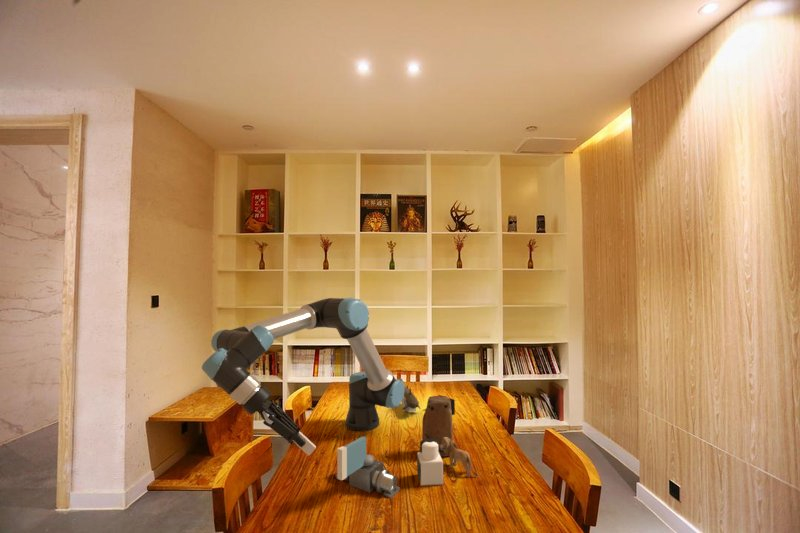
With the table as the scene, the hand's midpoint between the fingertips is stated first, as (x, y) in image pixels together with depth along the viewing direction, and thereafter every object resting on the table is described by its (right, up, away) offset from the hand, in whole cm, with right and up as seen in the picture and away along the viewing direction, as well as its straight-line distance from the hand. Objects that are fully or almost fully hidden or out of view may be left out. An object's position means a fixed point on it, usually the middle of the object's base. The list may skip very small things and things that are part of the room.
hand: (312, 451), depth 104 cm
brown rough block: (+39, -16, +30) cm, 52 cm away
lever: (+12, -9, +6) cm, 16 cm away
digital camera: (+47, -19, +75) cm, 91 cm away
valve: (+15, -15, +10) cm, 23 cm away
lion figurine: (+44, -16, +18) cm, 51 cm away
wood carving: (+29, -20, +82) cm, 89 cm away
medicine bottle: (+35, -15, +12) cm, 40 cm away
